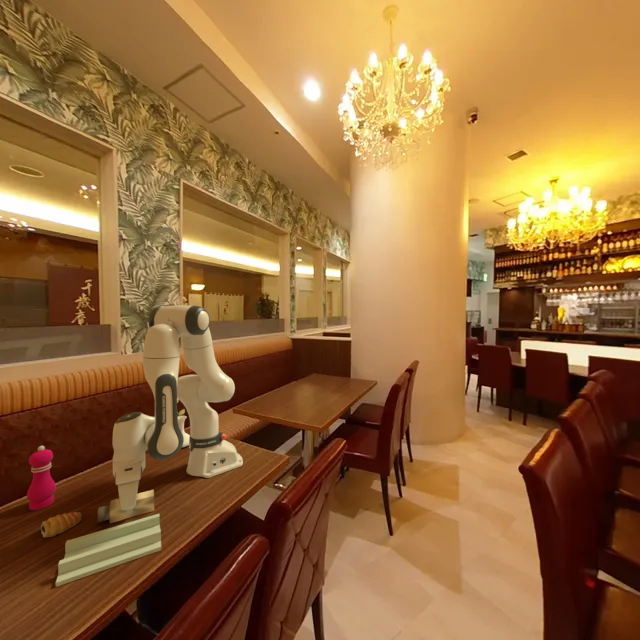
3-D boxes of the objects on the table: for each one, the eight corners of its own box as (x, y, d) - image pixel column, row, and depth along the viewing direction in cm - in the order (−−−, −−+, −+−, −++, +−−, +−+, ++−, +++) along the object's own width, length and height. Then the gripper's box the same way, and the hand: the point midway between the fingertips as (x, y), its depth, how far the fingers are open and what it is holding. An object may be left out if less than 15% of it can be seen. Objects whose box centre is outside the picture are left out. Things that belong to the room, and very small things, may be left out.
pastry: (77, 514, 97) (77, 503, 97) (85, 523, 93) (85, 511, 93) (38, 532, 89) (38, 519, 89) (45, 542, 85) (44, 529, 85)
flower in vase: (185, 438, 156) (185, 390, 156) (198, 443, 150) (198, 394, 149) (160, 447, 146) (160, 396, 145) (173, 453, 139) (172, 400, 139)
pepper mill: (39, 498, 105) (38, 441, 105) (61, 497, 106) (60, 441, 105) (20, 512, 98) (19, 451, 97) (44, 510, 98) (43, 450, 98)
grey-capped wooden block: (153, 504, 102) (153, 489, 102) (154, 510, 98) (154, 495, 98) (99, 519, 94) (99, 503, 94) (97, 526, 91) (97, 510, 91)
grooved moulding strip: (159, 520, 94) (159, 508, 94) (161, 550, 82) (161, 537, 82) (68, 547, 83) (68, 534, 83) (55, 587, 71) (55, 572, 71)
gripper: (120, 454, 104) (120, 494, 104) (114, 482, 86) (115, 530, 86) (141, 450, 107) (141, 488, 107) (140, 476, 89) (141, 522, 89)
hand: (129, 507), depth 97 cm, fingers closed on grey-capped wooden block, 4 cm apart
